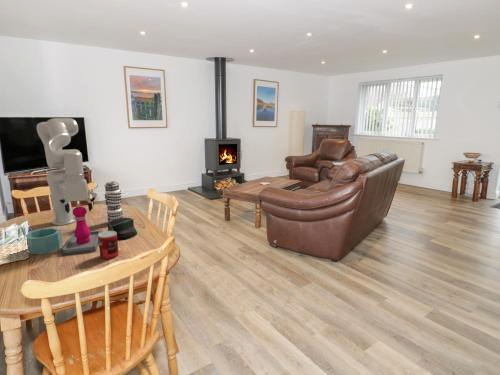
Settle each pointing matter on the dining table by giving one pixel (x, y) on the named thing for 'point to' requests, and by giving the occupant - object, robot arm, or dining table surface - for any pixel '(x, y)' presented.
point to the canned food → (108, 244)
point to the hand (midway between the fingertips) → (79, 211)
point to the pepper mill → (81, 225)
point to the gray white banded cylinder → (113, 201)
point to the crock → (44, 240)
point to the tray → (75, 248)
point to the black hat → (123, 228)
